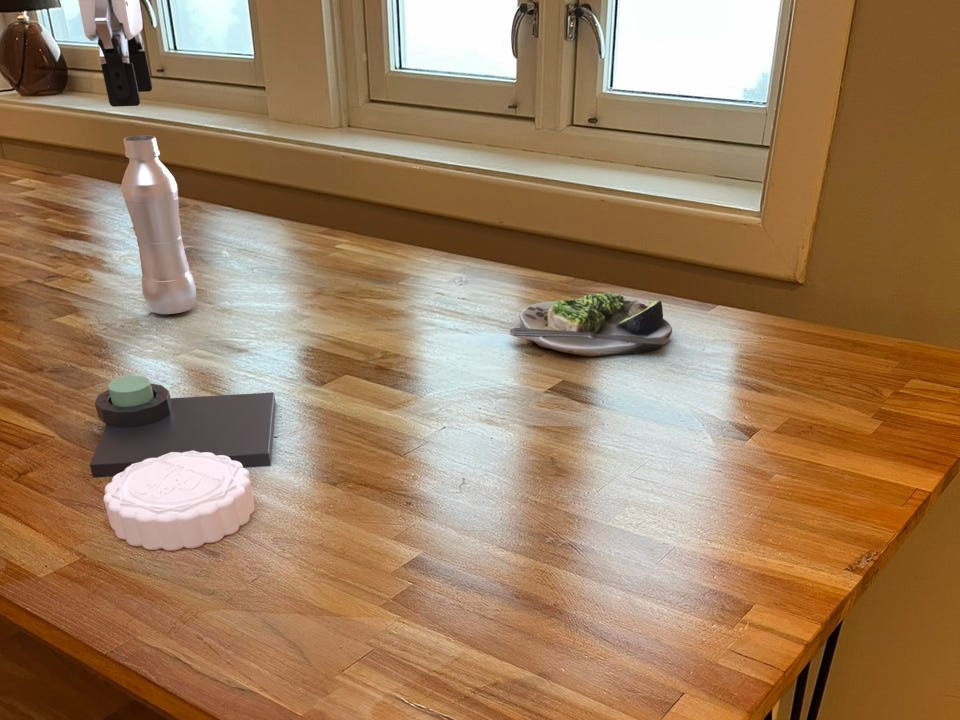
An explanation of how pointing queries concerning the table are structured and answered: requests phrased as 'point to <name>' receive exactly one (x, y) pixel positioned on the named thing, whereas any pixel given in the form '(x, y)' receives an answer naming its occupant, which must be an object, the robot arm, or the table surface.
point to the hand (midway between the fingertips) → (132, 98)
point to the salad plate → (595, 325)
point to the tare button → (130, 391)
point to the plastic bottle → (157, 228)
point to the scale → (184, 429)
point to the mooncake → (179, 500)
